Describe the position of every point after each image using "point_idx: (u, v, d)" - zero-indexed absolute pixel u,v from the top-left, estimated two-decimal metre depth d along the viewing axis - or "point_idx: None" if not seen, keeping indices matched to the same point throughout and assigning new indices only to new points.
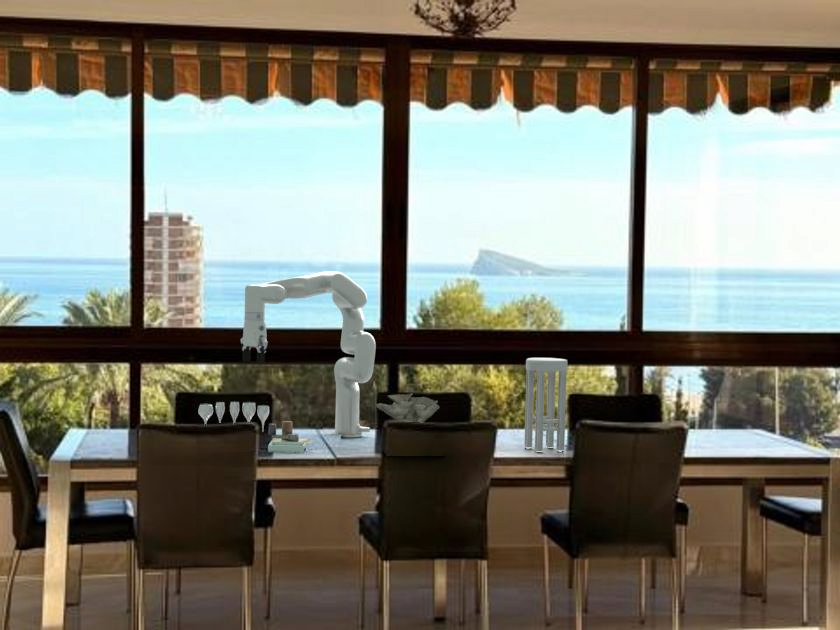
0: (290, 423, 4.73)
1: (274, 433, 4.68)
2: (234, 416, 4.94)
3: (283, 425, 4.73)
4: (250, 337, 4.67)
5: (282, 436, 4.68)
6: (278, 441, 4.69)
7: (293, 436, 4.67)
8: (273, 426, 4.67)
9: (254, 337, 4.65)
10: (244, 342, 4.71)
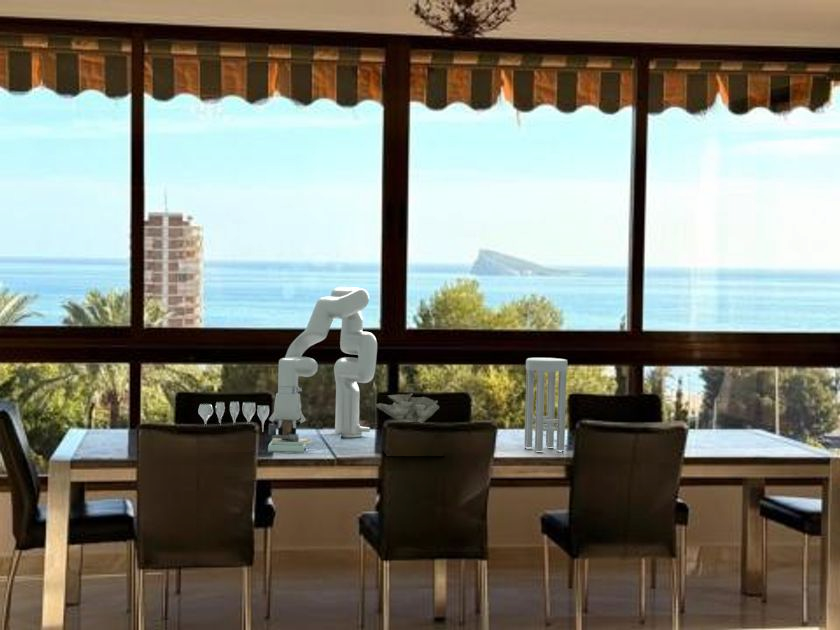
0: (290, 423, 4.73)
1: (274, 433, 4.68)
2: (234, 416, 4.94)
3: (283, 425, 4.73)
4: (290, 410, 4.72)
5: (282, 436, 4.68)
6: (278, 441, 4.69)
7: (293, 436, 4.67)
8: (273, 426, 4.67)
9: (296, 410, 4.72)
10: (278, 416, 4.72)
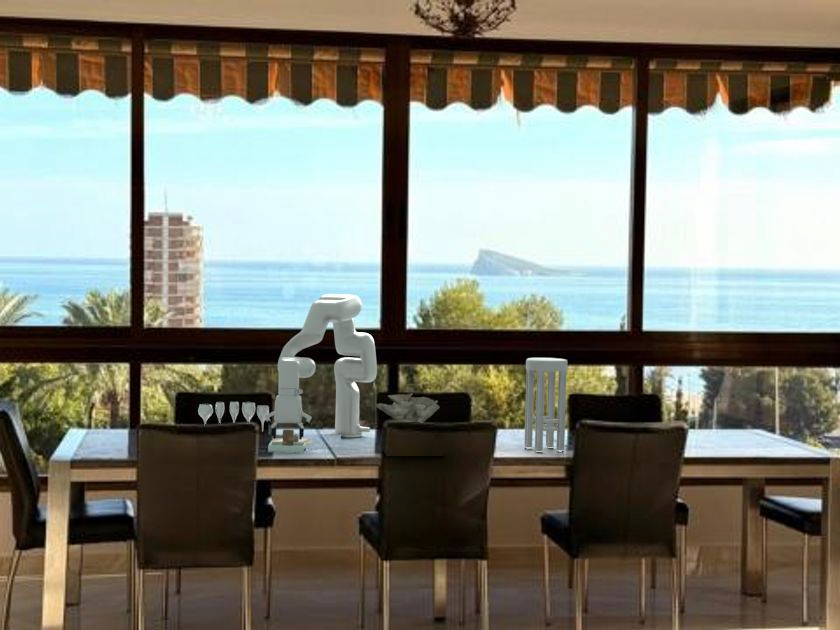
0: (291, 432, 4.56)
1: None
2: (234, 416, 4.93)
3: (284, 434, 4.56)
4: (291, 413, 4.54)
5: (282, 436, 4.68)
6: (278, 441, 4.69)
7: None
8: None
9: (297, 413, 4.55)
10: (278, 419, 4.55)
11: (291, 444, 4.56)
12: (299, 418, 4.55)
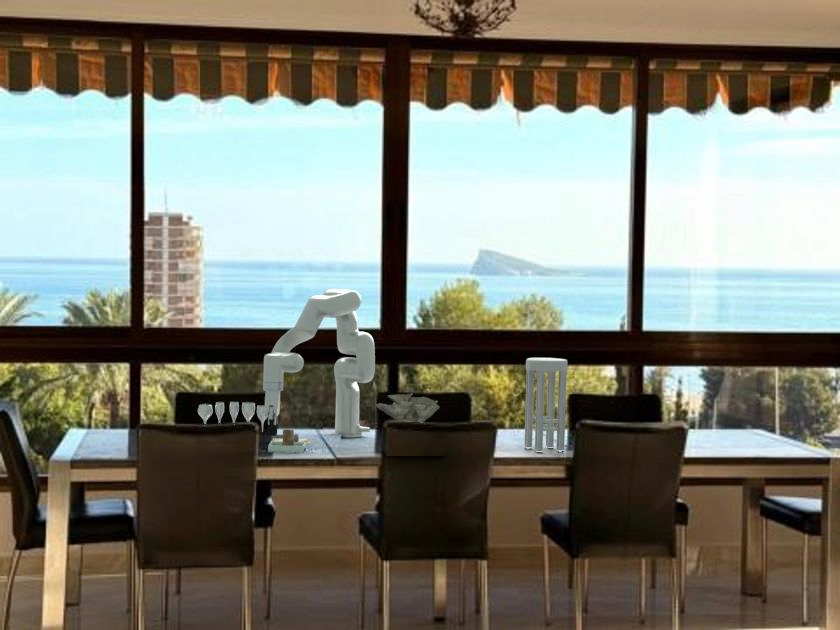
0: (291, 432, 4.56)
1: None
2: (234, 416, 4.93)
3: (284, 434, 4.56)
4: (279, 405, 4.70)
5: (282, 436, 4.68)
6: (278, 441, 4.69)
7: None
8: None
9: None
10: (277, 413, 4.65)
11: (291, 444, 4.56)
12: (279, 409, 4.73)
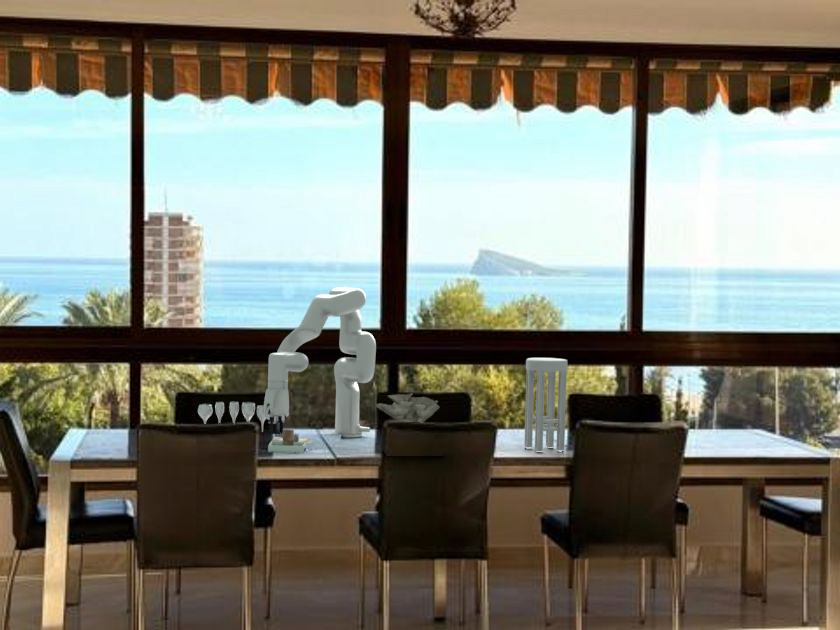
0: (291, 432, 4.56)
1: None
2: (233, 416, 4.93)
3: (284, 434, 4.56)
4: (284, 405, 4.72)
5: None
6: (278, 441, 4.69)
7: None
8: None
9: (287, 404, 4.74)
10: (275, 412, 4.68)
11: (291, 444, 4.56)
12: (288, 409, 4.75)
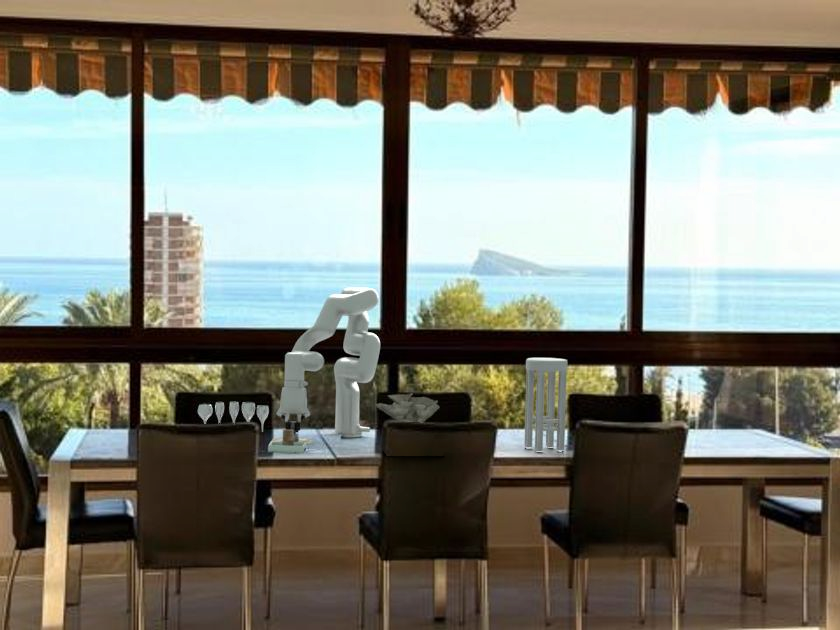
0: (291, 432, 4.56)
1: None
2: (233, 417, 4.93)
3: (284, 434, 4.56)
4: (297, 404, 4.74)
5: None
6: (278, 441, 4.69)
7: None
8: (289, 423, 4.76)
9: (302, 404, 4.74)
10: (284, 410, 4.74)
11: (291, 444, 4.56)
12: (304, 409, 4.74)
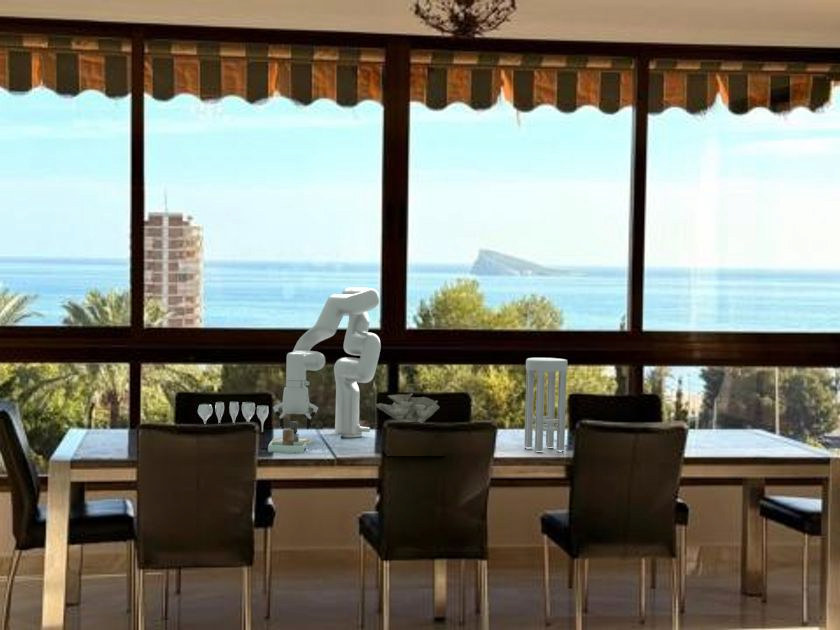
0: (291, 432, 4.56)
1: None
2: (233, 417, 4.93)
3: (284, 434, 4.56)
4: (299, 404, 4.74)
5: None
6: (278, 441, 4.69)
7: None
8: (290, 423, 4.76)
9: (305, 404, 4.74)
10: (286, 410, 4.74)
11: (291, 444, 4.56)
12: (306, 409, 4.75)
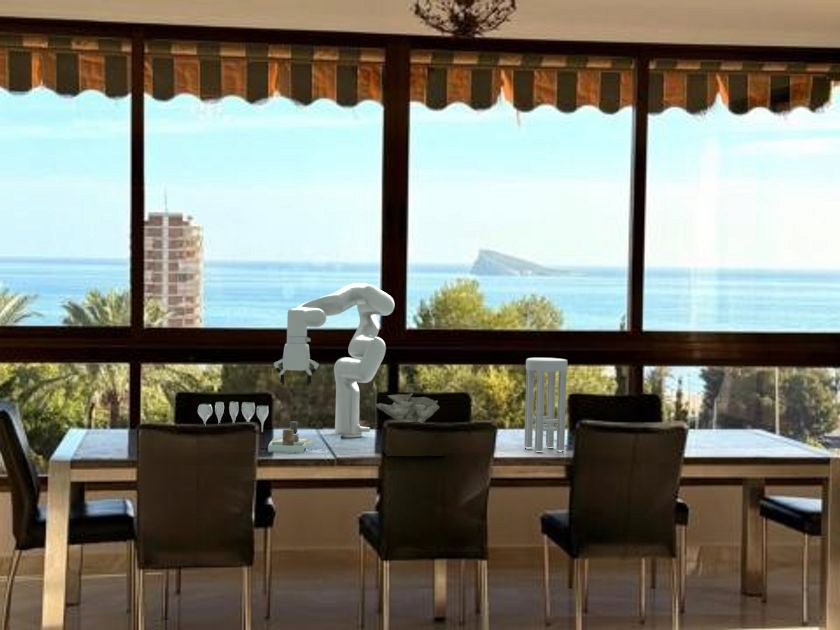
0: (291, 432, 4.56)
1: None
2: (233, 417, 4.93)
3: (284, 434, 4.56)
4: (300, 360, 4.73)
5: None
6: (278, 441, 4.69)
7: None
8: (290, 423, 4.76)
9: (305, 360, 4.74)
10: (287, 366, 4.74)
11: (291, 444, 4.56)
12: (307, 365, 4.74)
